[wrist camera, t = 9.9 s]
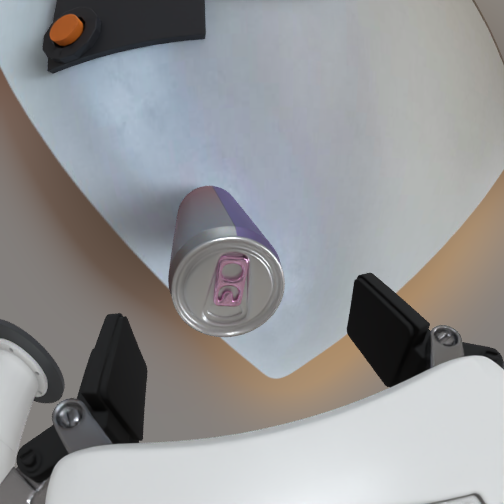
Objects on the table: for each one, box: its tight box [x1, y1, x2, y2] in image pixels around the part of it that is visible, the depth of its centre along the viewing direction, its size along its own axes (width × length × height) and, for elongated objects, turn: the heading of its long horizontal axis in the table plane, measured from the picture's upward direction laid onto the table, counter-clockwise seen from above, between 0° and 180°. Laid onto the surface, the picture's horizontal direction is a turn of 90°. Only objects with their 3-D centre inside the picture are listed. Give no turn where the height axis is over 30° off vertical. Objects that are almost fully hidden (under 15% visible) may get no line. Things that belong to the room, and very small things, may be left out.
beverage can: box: [168, 186, 285, 337], centre depth 20 cm, size 6×6×15 cm
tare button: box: [50, 14, 83, 46], centre depth 13 cm, size 3×3×2 cm
